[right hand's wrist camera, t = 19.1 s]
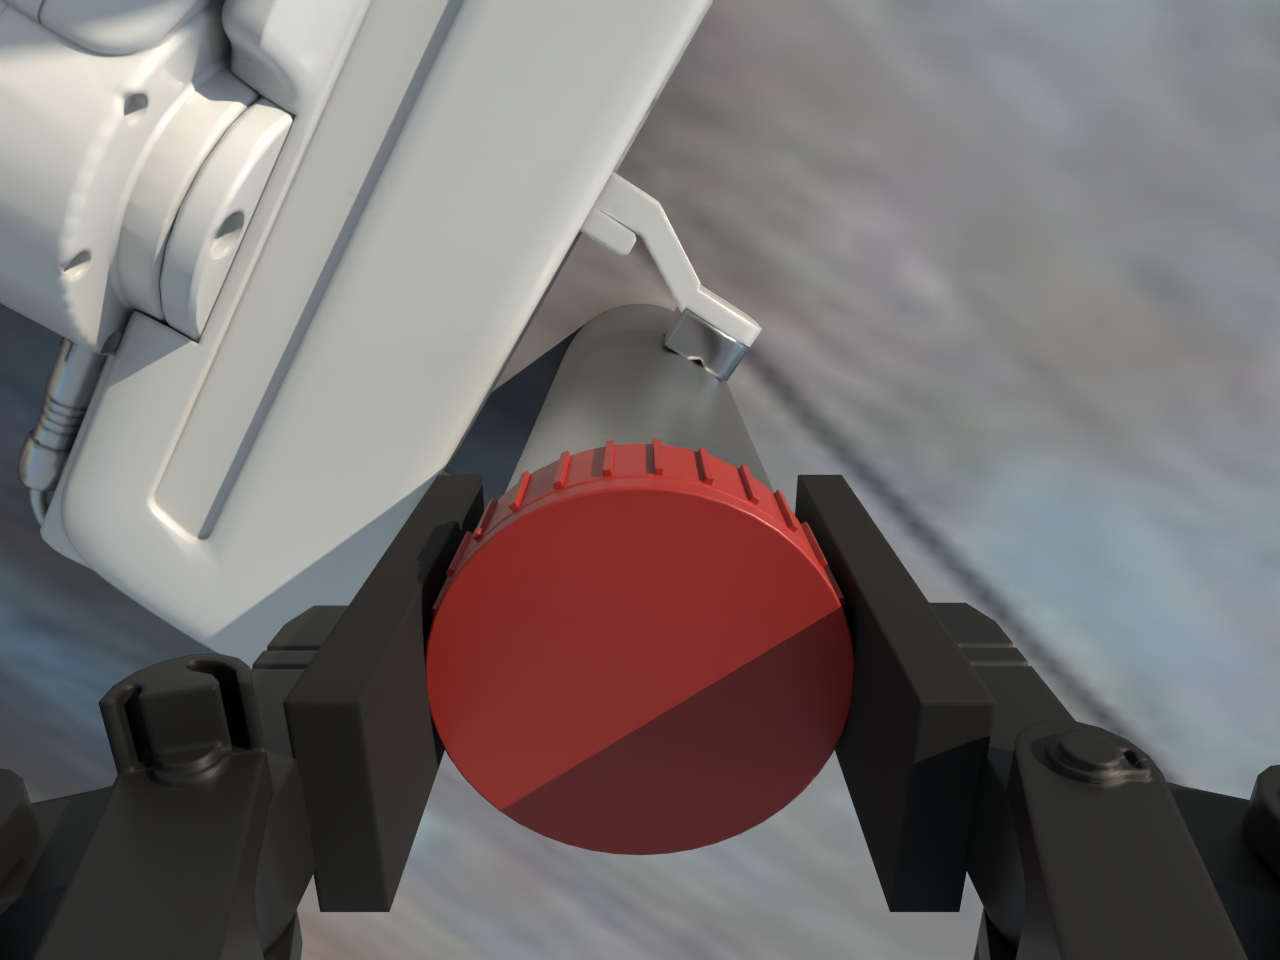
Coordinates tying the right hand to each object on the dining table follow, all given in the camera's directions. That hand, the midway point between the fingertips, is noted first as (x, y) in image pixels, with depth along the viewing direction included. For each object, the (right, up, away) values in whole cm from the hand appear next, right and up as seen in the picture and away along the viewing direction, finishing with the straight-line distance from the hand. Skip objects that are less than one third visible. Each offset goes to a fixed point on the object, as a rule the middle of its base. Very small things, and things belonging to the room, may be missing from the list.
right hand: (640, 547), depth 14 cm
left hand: (+1, +2, +6) cm, 6 cm away
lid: (0, -1, -4) cm, 4 cm away
